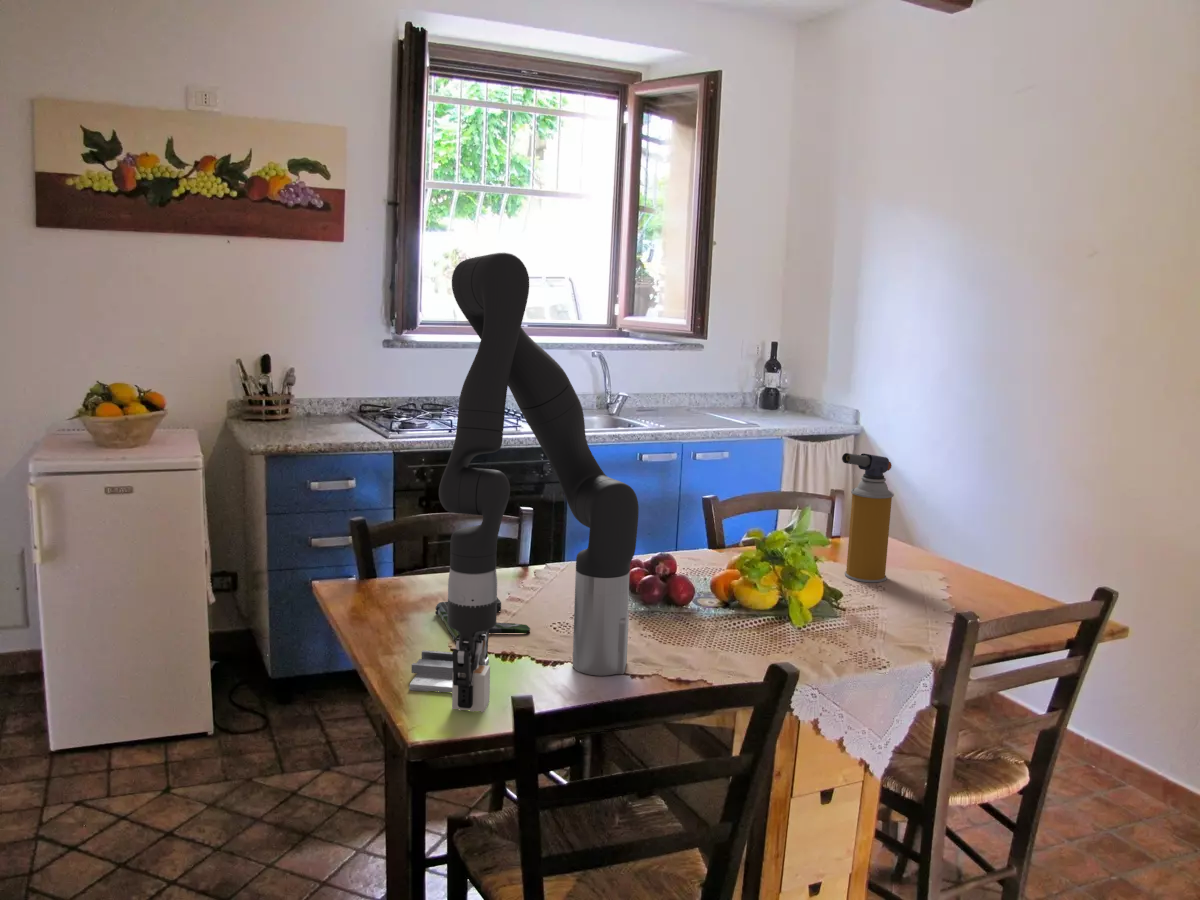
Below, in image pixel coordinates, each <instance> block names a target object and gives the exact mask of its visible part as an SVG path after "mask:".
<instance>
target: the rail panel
mask: <svg viewBox="0 0 1200 900" xmlns="http://www.w3.org/2000/svg"><path fill="white" fill-rule="evenodd" d="M452 653H453V651H452V652H451V651H438V650H425V649H423V650H422V651H421V658H419V659H418V661H417V662H413V663H412V664H411V673H412V674H416V675H415V676H414V678H413V679H412V680H411V682H410V683H409V691H417V692H428V691H437V692H436V693H441V692H452V682H453V655H452ZM489 663H490V656H488V657H487V659H485V666H489ZM438 691H439V692H438Z"/></svg>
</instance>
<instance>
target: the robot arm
mask: <svg viewBox="0 0 1200 900" xmlns="http://www.w3.org/2000/svg"><path fill="white" fill-rule="evenodd" d="M451 290H452V293H453V297H454V300H455V302H456V304H457V306H458V308H459V310H460V312H462V314H463V315H464V317H465V319H466V320H467V321H468V323H469V325H470V326H471V327H472V329H473V330H474V332H475V333H476V334H477V336H478V338H479V339H480V342H479V345H478V348H477V352H476V354H475V357H474V359H473V361H472V364H471V366H470V368H469V370H468V372H467V374H466V377H465V379H464V381H463V384H462V387H461V391H460V394H459V402H458V409H457V410H458V411H457V420H456V421H457V423H456V430H455V431H456V432H455V438H454V442H453V446H452V449H451V453H450V456H449V458H448V461H447V464H446V467H445V468H444V471H443V473H442V477H441V479H440V483H439V487H438V499H439V501H440V504H441V506H442V507H443V509H444V511H447V512H449V513H452V514H460V515H463V514H464V515H473V516H482V520H481V521H482V522H481V523H480V524H479V525H473V526H466V527H462V528H461V527H460V528H458V529H456V530H455V531H453V532H452V534H451V536H450V543H449V544H450V546H449V547H450V548H449V549H450V551H449V554H450V555H449V557H450V558H449V574H448V580H447V602H448V620H447V622H448V625H449V626H450V627H451V628H452V629H455V630H457V631H458V632H459V633H460V638H457V641H455V649H453V650H452V652H453V653H452V655H453V684H454V685H456V686H458V706H459V707H460V708H471V707H472V705H473V684H474V674H475V671H476V670H478V668H479V665H485V659H487V657H489V653H488V650H489V635H490V634H489V629H491V628H493V627H494V626H495V625H496V623H497V613H498V612H497V597H498V575H497V546H498V545H497V544H498V538H499V533H500V528H501V524H502V520H503V517H504V515H505V513H506V509H507V506H508V502H509V500H510V499H509V498H510V495H511V485H510V481H509V479H508V477H507V475H506V474H505V473H504V472H502V471H501V470H497V469H493V468H492V469H489V468H480V467H479V468H477V467H469V465H470V463H471V461H472V460H473V459H474V458H475V457H477V456H479V455H484V454H492V453H497V452H498V451H499V450H501V447H502V445H503V438H504V426H505V414H506V413H505V412H506V404H507V403H506V402H507V395H508V394H507V393H508V388H509V391H510V392H511V394H512V396H513V398H514V401H515V402H516V404H517V406H518V408H519V410H520V412H521V414H522V415H523V418H524V419H525V422H526V423H527V425H528V427H529V428H530V429H531V432H532V434H533V435H534V438H535V439H536V440H537V442H538V444H539V446H540V448H541V450H542V451H543V453H544V454H545V457H547V460H549V463H550V465H551V466H552V469H553V471H554V473H555V474H556V477H557V480H558V482H559V484H560V487H561V490H562V492H563V494H564V497H565V500H566V502H567V504H568V507H569V510H570V512H571V514H572V515H573V517H574V518H575V519H576V521H578V522H579V523H580V524H582V525H583V526H585V527H587V528H589V533H588V535H589V536H588V545H587V548H585V549H581V551H579V552H578V553H577V554H576V558H575V578H574V579H575V583H574V585H575V586H574V606H573V607H574V608H573V609H574V611H573V634H572V635H573V636H572V637H573V640H572V641H573V642H572V644H573V645H572V667H573V668H574V669H575V670H576V671H577V672H579V673H582V674H585V675H589V676H591V675H592V676H600V677H601V676H612V675H619V674H620V675H623V674H624V675H625V671H626V668H627V662H628V645H629V644H628V641H629V618H630V611H629V594H630V593H629V592H630V570H631V563H632V560H633V558H634V557H635V552H636V546H637V537H638V525H639V511H640V510H639V509H640V507H639V501H638V500H639V499H638V497H637V494H636V492H635V490H634V489H633V488H632V486H630V485H629V484H627V483H625V482H622V481H620V480H618V479H615V478H612V477H609V476H608V475H606V474H605V472H604V471H603V470H602V467H600V464H599V463H598V462H597V460H596V458H595V457H594V455H593V453H592V451H591V449H590V446H589V444H588V442H587V436H586V425H585V424H586V423H585V414H584V409H583V407H582V404H581V401H580V399H579V396H578V395H577V393H576V390H575V389H574V387H573V385H572V383H571V381H570V378H569V377H568V375H567V373H566V372H565V371H564V369H563V368H562V366H561V365H560V364H559V363H558V362H557V361H556V360H555V359H554V358H553V357H552V356H551V355H550V354H549V353H547V351H545V349H543V348H542V347H541V346H540V345H539V344H538V343H536V342H535V341H534V340H533V339H532V338H531V337H530V336H529V335H528V334H527V332H526V331H525V330H524V329H523V327H522V323H523V320H524V315H525V312H526V308H527V305H528V304H527V303H528V298H529V293H530V276H529V272H528V269H527V267H526V265H525V264H524V262H523V261H522V260H521V259H520V258H519V257H517V256H516V255H514V254H513V253H509V252H496V253H490V254H485V255H478V256H474V257H470V258H466V259H464V260H462V261H460V262H459V263H458V264H457V265H456V266H455V268H454V270H453V273H452V275H451ZM471 664H472V665H471ZM462 673H465V674H466V677H462Z"/></svg>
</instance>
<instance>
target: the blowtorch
mask: <svg viewBox="0 0 1200 900" xmlns="http://www.w3.org/2000/svg"><path fill="white" fill-rule="evenodd" d="M841 460H842V463H843V464H849V465H853V466H854V465H855V466H858V467H857V468H859V470H863V471H864V473H863V474H862V476H861V478H860V479H861V480H860V481H859V482H858V484H857V487H854V488H852V489H851V490H850V492H851V494H852V496H851V508H850V520H849V533H848V543H847V556H846V558H847V559H846V570H845V571H844V576H845V577H846V578H848V579H850V580H853V581H857V582H861V583H873V584H874V583H882V582H884V581H886V580H887V575H886V569H887V568H886V567H887V558H888V557H887V556H888V544H889V535H890V524H891V522H890V521H891V510H892V500H893V497H894V496H895V493H894V492H893V491H891V490H889V487H888V484H887V483H886V480H887V478H886V477H885V475H884V474H885V473H887V472H888V471H891V470H892V467H893V466H892V463H891V461H890V460H889V458H888V457H886V456H881V455H875V454H869V453H861V454H855V453H848V452H845V453H844V454H843V455H842V457H841Z"/></svg>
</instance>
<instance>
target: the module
mask: <svg viewBox="0 0 1200 900" xmlns="http://www.w3.org/2000/svg"><path fill="white" fill-rule="evenodd" d="M471 665H472V664H471ZM462 677H466V674H465V673H462ZM490 685H491V665H487V666H485V665H479V668H478V670H476V671H475V674H474V684H473V705H472V707H471V708H460V707H459V706H458V686H456V685H454V684H453V682H452V693H451V695H452V696H451V710H452V709H458V710H457V711H461V710H470V711H469V712H474V711H481V712H480V713H485V711H486V709H487V708H488V705H489V704H488V703H490V696H491V695H490V693H491V691H490V690H491V689H490V688H491V687H490ZM459 709H460V710H459Z"/></svg>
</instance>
